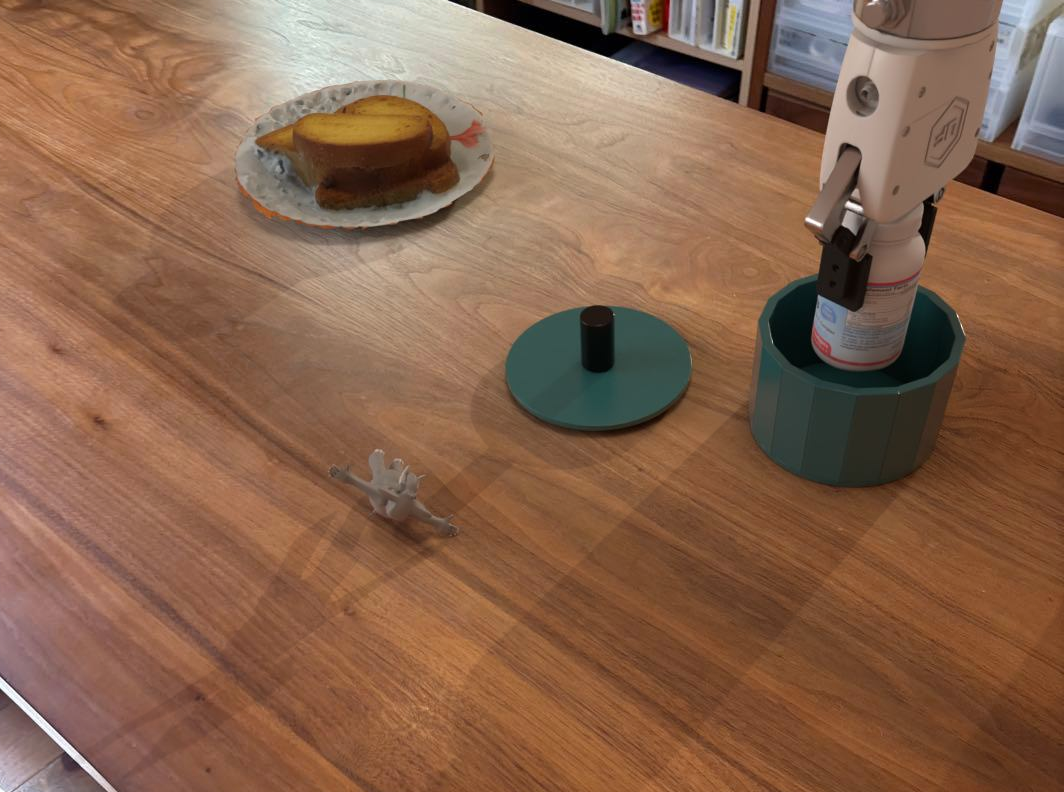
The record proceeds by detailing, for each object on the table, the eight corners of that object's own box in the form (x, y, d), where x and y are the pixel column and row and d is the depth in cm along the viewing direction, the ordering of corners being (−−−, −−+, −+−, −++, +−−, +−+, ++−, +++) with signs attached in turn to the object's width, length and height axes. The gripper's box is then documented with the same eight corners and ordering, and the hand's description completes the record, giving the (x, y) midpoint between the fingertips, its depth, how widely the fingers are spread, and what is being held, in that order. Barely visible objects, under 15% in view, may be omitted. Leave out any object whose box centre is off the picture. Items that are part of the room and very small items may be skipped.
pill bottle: (808, 319, 79) (831, 175, 70) (897, 321, 78) (931, 176, 69) (811, 374, 75) (835, 229, 66) (905, 378, 74) (941, 231, 65)
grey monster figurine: (465, 461, 81) (486, 513, 73) (422, 526, 83) (438, 584, 75) (345, 397, 77) (353, 444, 69) (303, 467, 79) (306, 521, 71)
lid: (595, 294, 93) (594, 236, 89) (729, 368, 86) (735, 309, 82) (468, 377, 87) (461, 320, 83) (601, 465, 80) (600, 407, 76)
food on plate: (448, 86, 119) (441, 24, 114) (535, 199, 104) (532, 134, 99) (216, 143, 114) (198, 82, 109) (271, 272, 99) (253, 207, 94)
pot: (821, 339, 88) (837, 247, 81) (974, 417, 81) (1004, 323, 74) (711, 425, 82) (718, 333, 76) (864, 516, 75) (887, 424, 69)
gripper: (894, 73, 53) (838, 367, 66) (1080, -45, 60) (995, 241, 74) (768, 29, 57) (739, 315, 70) (957, -77, 64) (898, 200, 77)
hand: (871, 275), depth 72 cm, fingers closed on pill bottle, 6 cm apart
